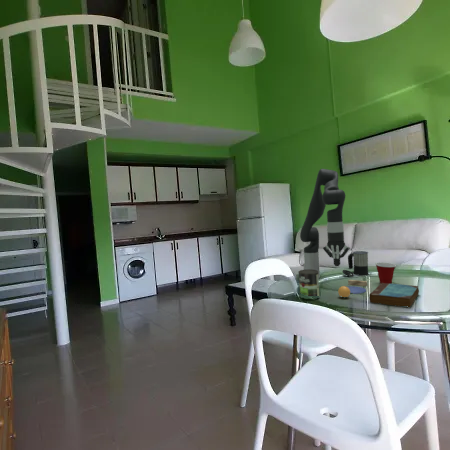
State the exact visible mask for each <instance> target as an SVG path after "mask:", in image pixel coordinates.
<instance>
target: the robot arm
mask: <svg viewBox="0 0 450 450" xmlns="http://www.w3.org/2000/svg"><path fill="white" fill-rule="evenodd" d="M321 186H324V187H323V188H324V189H323V192H322V187H321ZM345 200H346V192H345V191H344V190H343V189H340V188H339V173H338V172H337V171H336V170H333V169H327V168H320V169H319V170H318V172H317V176H316V179H315V184H314V190H313V194H312V196H311V199H310V202H309V206H308V209H307V214H306V217H305V220H304V223H303V225H302V227H301V229H300V234H299V237H300V241H302V242H303V243H309V244H307V245H306V246H305V247H304V248H303V259H304V262H303V270H305V269H312V270H317V271H318V272H319V273H318V277H319V279H320V278H321V273H320V256H319V249H320V233H319V229H318V228H317V227H315V226H314V225H315V224H316V223H317V221H319V220H320V219H321V217H322V216H323V215H324V213H325V210H326V207H327V206H333V205H337V206H336V207H335V208H332V209H329V210H327V212H326V218H327V219H326V220H327V227H326V231H327V234H326V235H327V243H326V245H325V246H323V248H322V249H323V250H324V252H325V253H326V254H327V256H328V257H329V258H332V259H333V260H332V261H333V265H334V266H335V267H340V265H341V259H342V258H343V257H345V256H346V254H347V253H348V252H349V251H350V250H351V247H349V246H347V245H346V243H345V232H344V222H343V210H344V205H345ZM342 250H343V251H342ZM341 252H342V253H341Z"/></svg>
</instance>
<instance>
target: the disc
mask: <svg viewBox="0 0 450 450" xmlns="http://www.w3.org/2000/svg"><path fill="white" fill-rule="evenodd" d="M346 287H348V288H349V289H350V293H353V294H354V295H355V294H357V295H358V294H363V293H366V291H367V289H366V288H364V287H363V286H357V285H347V286H346ZM353 294H352V295H353Z"/></svg>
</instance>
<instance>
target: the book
mask: <svg viewBox="0 0 450 450" xmlns="http://www.w3.org/2000/svg"><path fill="white" fill-rule="evenodd" d="M419 293H420V289H419V286H418V285H413V284H412V285H410V284H399V283H392V284H389V283H381V284H380V283H379V285H378V286H377V287H376V288H374V289H373V291H371V292H370V293H369V295H368V296H369V303H372V304H373V303H374V304H379V303H381V304H380V305H386V306H387V305H388V306H395V305H396V306H395V307H401V306H408V307H410V306H412V305H413V304H414V302H415V300H416V299H417V297H418V296H419ZM408 307H407V308H408ZM410 308H411V307H410Z"/></svg>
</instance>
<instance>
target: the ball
mask: <svg viewBox="0 0 450 450" xmlns="http://www.w3.org/2000/svg"><path fill="white" fill-rule="evenodd" d="M337 292H338V296H339V297H341V296H342V297H347V298H348V297H350V295H351V294H350V289H349V288H348V287H346V286H345V285H342V286H339V288H338V291H337ZM342 297H341V298H342Z"/></svg>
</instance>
